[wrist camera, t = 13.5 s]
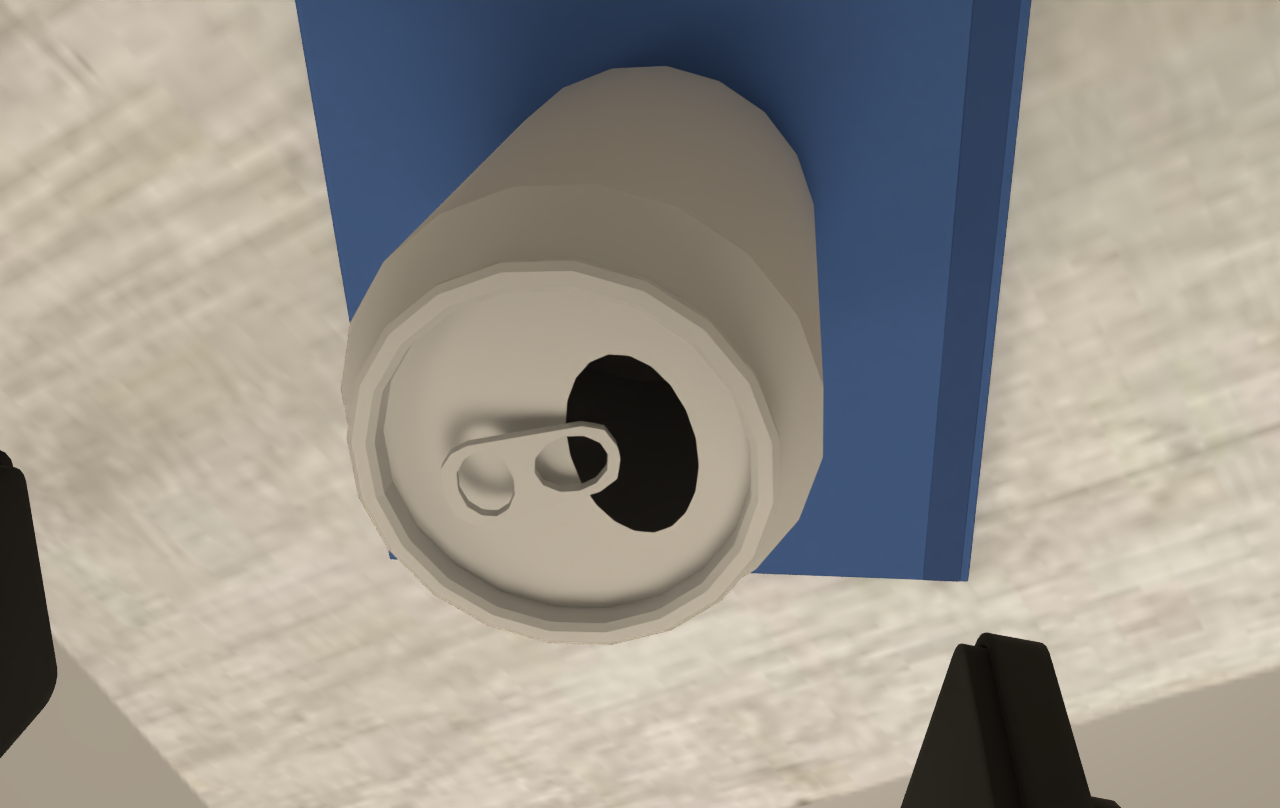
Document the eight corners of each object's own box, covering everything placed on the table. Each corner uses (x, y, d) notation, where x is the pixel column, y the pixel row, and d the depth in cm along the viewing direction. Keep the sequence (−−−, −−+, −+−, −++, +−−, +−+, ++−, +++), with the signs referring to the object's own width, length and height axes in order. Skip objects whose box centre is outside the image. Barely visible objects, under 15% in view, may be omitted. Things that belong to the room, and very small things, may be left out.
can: (837, 342, 27) (864, 665, 16) (543, 387, 28) (392, 710, 18) (785, 25, 24) (779, 167, 13) (459, 95, 25) (216, 273, 15)
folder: (258, -253, 23) (250, -255, 23) (1060, -303, 21) (1065, -306, 21) (394, 551, 32) (389, 560, 32) (966, 573, 30) (968, 582, 29)
